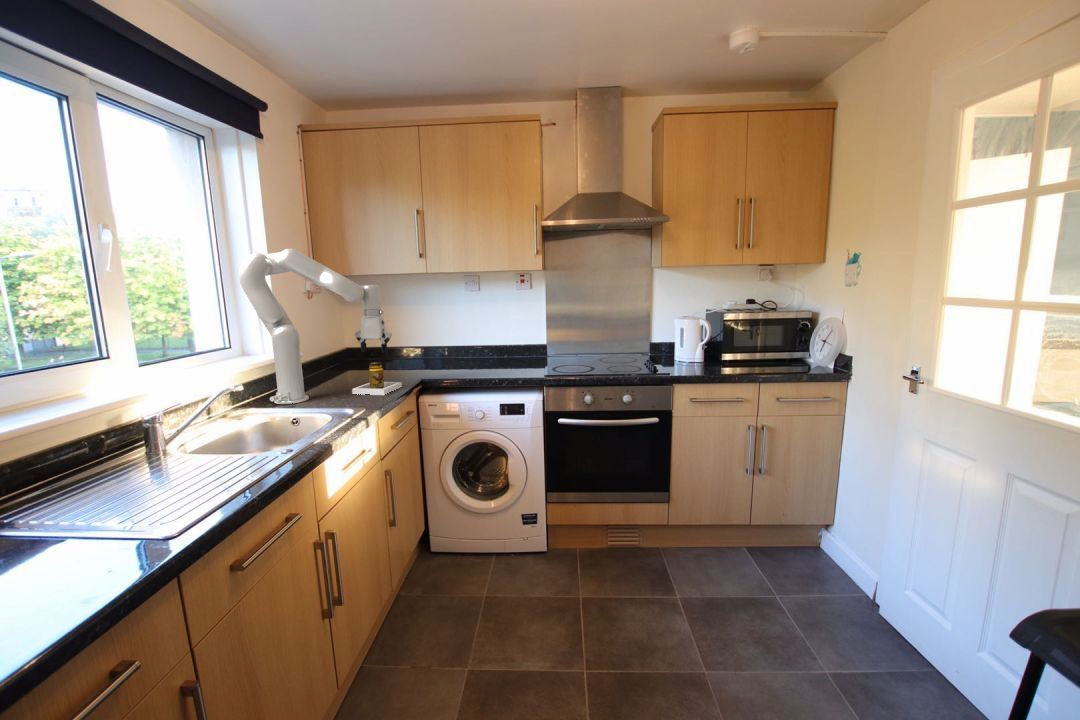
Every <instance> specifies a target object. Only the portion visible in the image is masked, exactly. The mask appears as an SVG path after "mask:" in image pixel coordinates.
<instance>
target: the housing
mask: <svg viewBox="0 0 1080 720" xmlns="http://www.w3.org/2000/svg"><path fill="white" fill-rule="evenodd" d="M402 384H403V382H402V381H399V382H398V381H384V387H386V388H383V389H371V388H369V387H370V382H367V383H365V384H362V385H359V386H357V387H354V388H352V389H351V393H352V394H357V395H358V394H359V395H360V394H361V396H366V395H365V394H370V395H369V396H386V395H388V394H390V393H389V392H391V391H393V392H395V391H397V390H396V389H398V388H400V387H402V388H403V385H402ZM400 389H401V388H400ZM394 390H395V391H394ZM398 390H399V389H398ZM387 393H388V394H387ZM391 393H392V392H391ZM385 394H386V395H385ZM359 395H358V396H359Z"/></svg>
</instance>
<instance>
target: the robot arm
mask: <svg viewBox="0 0 1080 720" xmlns="http://www.w3.org/2000/svg"><path fill="white" fill-rule="evenodd" d="M289 272H292V273H293V274H295V275H297V276H299V277H301V278H303V279H305V280H307V281H309V282H310V283H312V284H314V285H315V286H318V287H320V288H324V289H327V290H329V291H332V292H334V293H335V294H337V295H340V296H341V297H342V298H344V300H345V301H347V302H349V303H350V302H351V303H357V302H361V303H362V317H361V320H360V330H358V331H356V332H355V333H354V336H355V338H356V340H357V341H358V343H359V344H360V350H361V353H366V352H368V351H367V350H368V349H367V343H366V341H367V340H379V341H380V342H381V344H380V345H381V348H380V349H381V353H382V354H385V353H387V352H388V343H389V341H390V340H391V338H392V336H393V334H392V333H391V332H390V331H388V330H387V328H386V321H385V318H384V316H383V315H384V313H385V312H384V311H385V310H382V305H381V304H382V302H381V299H382V298H381V287H380V286H379V285H377V284H364V285H360V284H358V283H356V282H355V281H352V280H351V279H350V278H347V277H345V276H344V275H342V274H340V273H338V272H336V271H334V270H333V269H331V268H330V267H327V266H326V265H324V264H322V263H320V262H318V261H317V260H315V259H313V258H311V257H309V256H308V255H306V254H304V253H302V252H300V251H299V250H297V249H294V248H285V249H283V250H282V251H279V252H271V253H264V254H263V253H258V252H255V253H251V254H249V255H248V256H247V257H245V258H244V260H243V261H242V263H241V265H240V267H239V271H238V278H239V280H238V281H239V283H240V286H241V288H242V290H243V292H244V294H245V295H246V297H247V298H248V300H249V302H250V304H251V305H252V307H253V308H254V310H255V312H256V314H257V316H258V319H260V320H261V322H262V324H263V325H264V327H265V328H266V330H267V331H268V333H269V334H270V336H271V344H272V352H273V361H274V362H273V363H274V369H275V379H276V387H277V388H276V389H277V391H276V393H275V395H273V396H270V397H269V401H270V402H274V403H275V404H277V405H290V404H291V405H292V403H293V404H298V403H303V402H307V401H308V400H310V396H309V395H306V394H305V385H304V376H303V374H304V373H303V368H302V366H303V365H302V356H301V341H300V339H301V338H300V334H299V330H298V329H297V328H296V327H295V324H294V323H293V322H292V320H291V319H290V317H289V315H288V314H287V312H286V311H285V308H284V307H283V305H282V304H281V303H280V302H279V301H278V299H277V297H276V296H275V294H274V293H273V292H272V288H270V286H269V284H268V282H267V280H266V277H267V276H272V275H278V274H284V273H289Z"/></svg>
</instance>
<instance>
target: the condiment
mask: <svg viewBox="0 0 1080 720" xmlns="http://www.w3.org/2000/svg"><path fill="white" fill-rule="evenodd" d="M368 365H369V367H368V376H369V377H368V381H369V383H370V387H369V388H371V389H383V388H386V387H384V382H385V378H384V368H383V366H382V362H380V361H379V362H378V361H377V362H376V361H375V362H370V363H369V364H368Z"/></svg>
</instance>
